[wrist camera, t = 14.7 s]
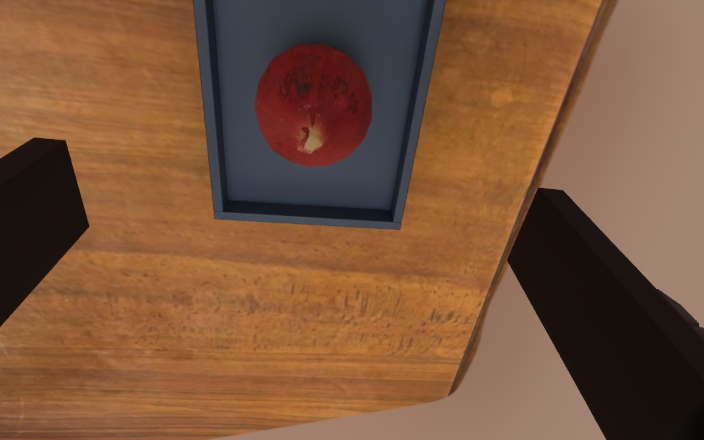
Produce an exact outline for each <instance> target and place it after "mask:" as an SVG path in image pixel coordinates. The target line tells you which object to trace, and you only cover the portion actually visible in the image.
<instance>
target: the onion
mask: <svg viewBox="0 0 704 440" xmlns="http://www.w3.org/2000/svg"><path fill="white" fill-rule="evenodd" d="M254 107H255V112H256V116H257V120H258V124H259V129H260V131H261V133H262V134H263V136H264V138H265V139H266V141H267V143H268V144H269V146H270V148H271V149H272V151H274V152H276V153H277V154H279V155H280V156H282V157H283V158H285V159H286V160H288V161H289V162H292V163H295V164H299V165H303V166H307V167H318V166H329V165H331V164H334V163H336V162H338V161H340V160H343V159H345V158H347V157H348V156H349V155H350V154H351V153H352V152H353V151H354V150H355V149H356V148H357V147H358V146H359V145H360V144H361V143H362V142H363V141H364V139H365V137H366V134H367V131H368V129H369V126H370V123H371V121H372V94H371V91H370V88H369V85H368V83H367V80H366V77H365V74H364V73H363V72H362V71H361V70H360V68H359V67H358V66H357V65H356V64H355V63H354V62H353V61H352V60H351V59H350V58H349V57H348V56H347V55H346V54H344V53H342V52H340V51H338V50H336V49H334V48H331V47H329V46H327V45H325V44H303V45H296V46H294V47H292V48H290V49H289V50H287V51H285V52H283V53H282V54H280V55H278V56H276V57H275V58H273V59H272V61H271V62H270V64H269V65H268V67H267V69H266V70H265V72H264V73H263V75H262V77H261V78H260V80H259V83H258V87H257V93H256V99H255V105H254Z"/></svg>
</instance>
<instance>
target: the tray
mask: <svg viewBox="0 0 704 440" xmlns="http://www.w3.org/2000/svg"><path fill="white" fill-rule="evenodd" d="M445 2H446V0H193V6H194V16H195V26H196V36H197V46H198V57H199V67H200V77H201V87H202V97H203V107H204V118H205V128H206V138H207V148H208V158H209V168H210V178H211V189H212V199H213V209H214V219H222V220H239V221H256V222H274V223H291V224H308V225H325V226H343V227H360V228H377V229H395V230H400V228H401V222H402V218H403V213H404V208H405V203H406V198H407V193H408V188H409V183H410V178H411V173H412V168H413V163H414V158H415V153H416V148H417V143H418V138H419V133H420V128H421V123H422V118H423V113H424V108H425V103H426V97H427V92H428V87H429V82H430V77H431V72H432V67H433V62H434V57H435V52H436V47H437V42H438V37H439V32H440V27H441V22H442V17H443V12H444V7H445ZM303 44H325V45H327V46H329V47H331V48H334V49H336V50H338V51H340V52H342V53H344V54H346V55H347V56H348V57H349V58H350V59H351V60H352V61H353V62H354V63H355V64H356V65H357V66H358V67H359V68H360V70H361V71H362V72H363V73H364V74H365V77H366V80H367V83H368V85H369V88H370V91H371V94H372V121H371V123H370V126H369V129H368V131H367V134H366V137H365V139H364V141H363V142H362V143H361V144H360V145H359V146H358V147H357V148H356V149H355V150H354V151H353V152H352V153H351V154H350V155H349V156H348V157H347V158H345V159H343V160H340V161H338V162H336V163H334V164H331V165H329V166H318V167H307V166H303V165H299V164H295V163H292V162H289V161H288V160H286V159H285V158H283V157H282V156H280V155H279V154H277V153H276V152H274V151H272V149H271V148H270V146H269V144H268V143H267V141H266V139H265V138H264V136H263V134H262V133H261V131H260V129H259V124H258V120H257V116H256V112H255V107H254V105H255V99H256V93H257V87H258V83H259V80H260V78H261V77H262V75H263V73H264V72H265V70H266V69H267V67H268V65H269V64H270V62H271V61H272V59H273V58H275V57H276V56H278V55H280V54H282V53H283V52H285V51H287V50H289V49H290V48H292V47H294V46H296V45H303Z"/></svg>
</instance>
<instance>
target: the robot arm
mask: <svg viewBox="0 0 704 440" xmlns="http://www.w3.org/2000/svg"><path fill="white" fill-rule="evenodd" d="M88 228H89V223H88V220H87V216H86V213H85V209H84V205H83V202H82V198H81V195H80V191H79V187H78V184H77V180H76V176H75V173H74V169H73V166H72V162H71V158H70V155H69V151H68V147H67V144H66V141H65V140H55V139H45V138H35V137H34V138H33V139H31V140H30V141H28V142H26V143H25V144H23V145H21V146H20V147H18V148H17V149H15V150H13V151H12V152H10V153H9V154H7V155H5V156H4V157H2V158H1V159H0V327H1V325H2V324H3V323H4V322H5V321H6V320H7V319H8V318H9V316H10V315H11V314H12V313H13V312H14V311H15V310H16V309H17V307H18V306H19V305H20V304H21V303H22V302H23V301H24V300H25V298H26V297H27V296H28V295H29V294H30V293H31V292H32V291H33V289H34V288H35V287H36V286H37V285H38V284H39V283H40V282H41V280H42V279H43V278H44V277H45V276H46V275H47V274H48V273H49V271H50V270H51V269H52V268H53V267H54V266H55V265H56V264H57V262H58V261H59V260H60V259H61V258H62V257H63V256H64V255H65V253H66V252H67V251H68V250H69V249H70V248H71V247H72V246H73V244H74V243H75V242H76V241H77V240H78V239H79V238H80V237H81V235H82V234H83V233H84V232H85V231H86V230H87V229H88ZM507 261H508V263H509V265H510V267H511V268H512V270H513V272H514V274H515V275H516V277H517V279H518V281H519V283H520V285H521V286H522V288H523V290H524V292H525V294H526V295H527V297H528V299H529V301H530V303H531V304H532V306H533V308H534V310H535V312H536V314H537V315H538V317H539V319H540V321H541V323H542V324H543V326H544V328H545V330H546V332H547V333H548V335H549V337H550V339H551V340H552V342H553V344H554V346H555V348H556V349H557V351H558V353H559V355H560V357H561V358H562V360H563V362H564V364H565V366H566V367H567V369H568V371H569V373H570V375H571V377H572V378H573V380H574V382H575V384H576V386H577V387H578V389H579V391H580V393H581V395H582V396H583V398H584V400H585V401H586V404H587V405H588V407H589V409H590V411H591V413H592V415H593V416H594V418H595V420H596V422H597V423H598V425H599V427H600V429H601V431H602V432H603V434H604V436H605V438H606V440H704V328H702V327H699V323H698V322H697V321H696V320H695V319H694V318H693V317H692V316H691V315H690V314H689V313H688V312H687V311H686V310H685V309H684V308H683V307H682V306H681V305H680V304H678V303H677V302H676V301H674V300H673V299H671V298H670V297H669V296H667V295H666V294H664V293H663V292H662V291H660V290H659V289H656V288H655V287H654V286H653V285H652V284H651V283H650V282H649V281H648V280H647V279H646V277H645V276H644V275H643V274H642V273H641V272H640V271H639V270H638V269H637V268H636V267H635V266H634V265H633V264H632V263H631V262H630V261H629V260H628V258H627V257H625V255H624V254H623V253H622V252H621V251H620V250H619V249H618V248H617V247H616V246H615V245H614V244H613V243H612V242H611V241H610V239H608V237H607V236H606V235H605V234H604V233H603V232H602V231H601V230H600V229H599V228H598V227H597V226H596V225H595V224H594V223H593V222H592V220H591V219H590V218H589V217H588V216H587V215H586V214H585V213H584V212H583V211H582V210H581V209H580V208H579V207H578V206H577V205H576V204H575V203H574V202H573V200H572V199H571V198H570V197H569V196H568V195H567V194H566V193H565V192H564V191H563V190H556V189H546V188H538V190H537V192H536V194H535V196H534V199H533V201H532V203H531V206H530V208H529V210H528V213H527V215H526V217H525V220H524V222H523V224H522V227H521V229H520V231H519V233H518V236H517V238H516V240H515V243H514V245H513V247H512V250H511V252H510V254H509V257H508V259H507Z"/></svg>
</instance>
